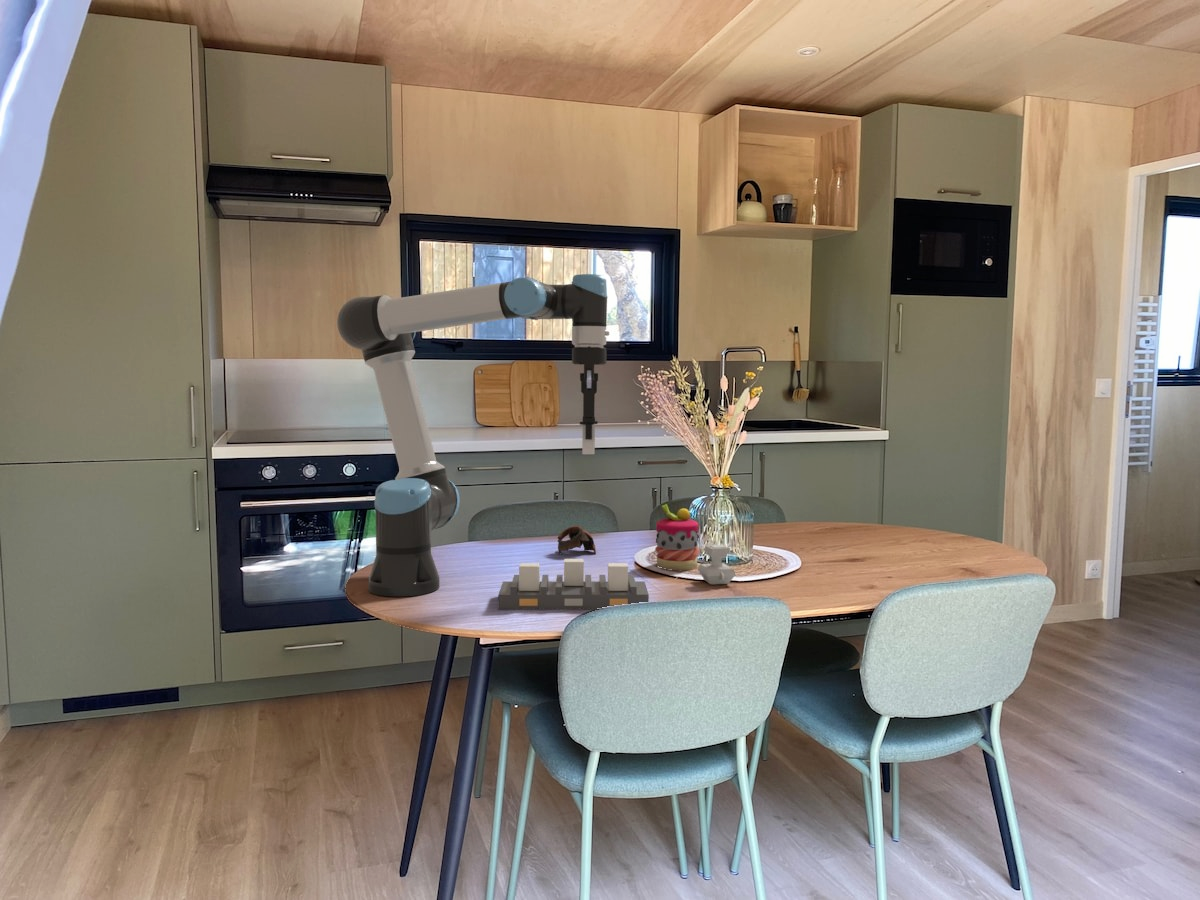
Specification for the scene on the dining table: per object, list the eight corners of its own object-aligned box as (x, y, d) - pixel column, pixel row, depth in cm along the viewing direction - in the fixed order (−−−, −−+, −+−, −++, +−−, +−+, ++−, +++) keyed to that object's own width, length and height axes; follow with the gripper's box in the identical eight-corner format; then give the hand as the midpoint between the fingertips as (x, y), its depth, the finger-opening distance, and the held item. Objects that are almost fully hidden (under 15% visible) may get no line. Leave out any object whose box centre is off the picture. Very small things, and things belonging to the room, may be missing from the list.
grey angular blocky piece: (695, 579, 204) (696, 542, 204) (723, 577, 206) (723, 541, 205) (708, 588, 196) (709, 550, 195) (737, 587, 197) (738, 549, 196)
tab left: (519, 590, 180) (519, 566, 179) (520, 587, 183) (520, 563, 182) (539, 590, 180) (539, 566, 179) (539, 587, 183) (539, 563, 182)
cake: (695, 561, 223) (696, 502, 221) (701, 571, 212) (702, 508, 211) (653, 561, 223) (654, 502, 221) (657, 571, 212) (658, 508, 211)
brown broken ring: (601, 558, 228) (588, 532, 225) (568, 574, 228) (554, 549, 225) (594, 538, 240) (581, 513, 236) (562, 553, 240) (549, 529, 236)
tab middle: (564, 585, 184) (564, 561, 184) (564, 582, 187) (564, 558, 187) (583, 585, 184) (583, 561, 184) (583, 582, 187) (583, 558, 187)
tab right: (608, 590, 180) (608, 566, 180) (607, 587, 183) (607, 563, 183) (628, 590, 180) (628, 566, 180) (627, 587, 183) (627, 563, 183)
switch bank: (498, 609, 177) (498, 587, 177) (503, 595, 189) (502, 574, 188) (648, 609, 178) (648, 587, 178) (644, 595, 189) (644, 574, 189)
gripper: (607, 346, 188) (605, 457, 190) (606, 347, 201) (605, 451, 203) (571, 345, 188) (570, 456, 190) (572, 347, 201) (572, 451, 203)
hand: (588, 453), depth 197 cm, fingers closed
